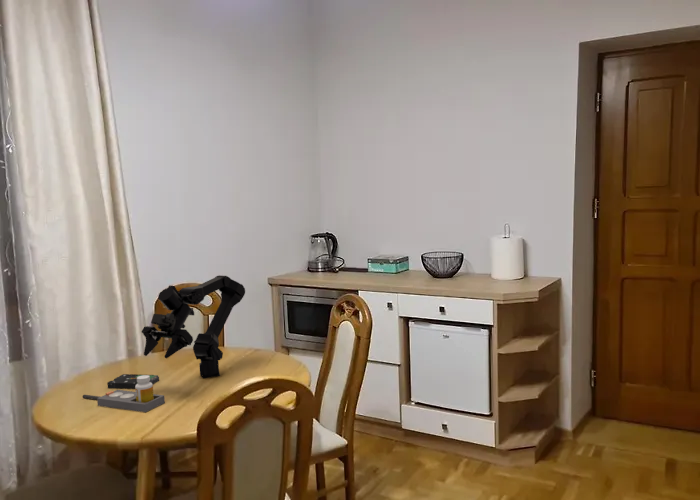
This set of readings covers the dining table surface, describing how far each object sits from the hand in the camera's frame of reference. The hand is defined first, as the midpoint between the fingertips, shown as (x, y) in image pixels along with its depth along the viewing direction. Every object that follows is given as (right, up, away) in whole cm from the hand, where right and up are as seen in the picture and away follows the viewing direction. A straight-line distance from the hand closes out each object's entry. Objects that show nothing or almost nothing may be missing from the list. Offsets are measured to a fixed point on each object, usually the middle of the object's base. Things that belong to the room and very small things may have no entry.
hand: (155, 356), depth 211 cm
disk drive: (-13, -14, +18) cm, 26 cm away
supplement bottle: (-1, -15, -6) cm, 16 cm away
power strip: (-12, -15, -1) cm, 19 cm away
